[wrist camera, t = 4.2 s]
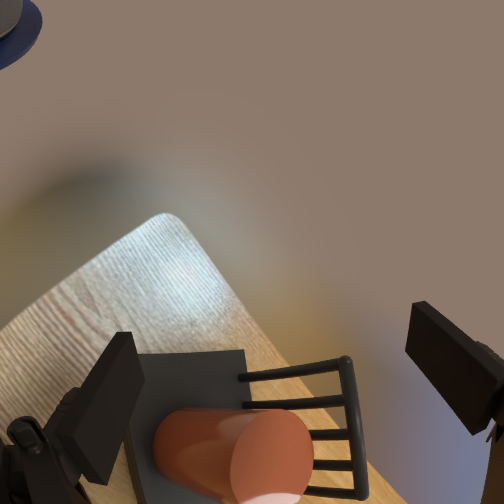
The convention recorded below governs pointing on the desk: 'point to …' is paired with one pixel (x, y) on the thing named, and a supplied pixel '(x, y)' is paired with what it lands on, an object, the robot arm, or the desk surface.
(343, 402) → the slatted back chair
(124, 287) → the desk surface
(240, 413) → the cylinder
